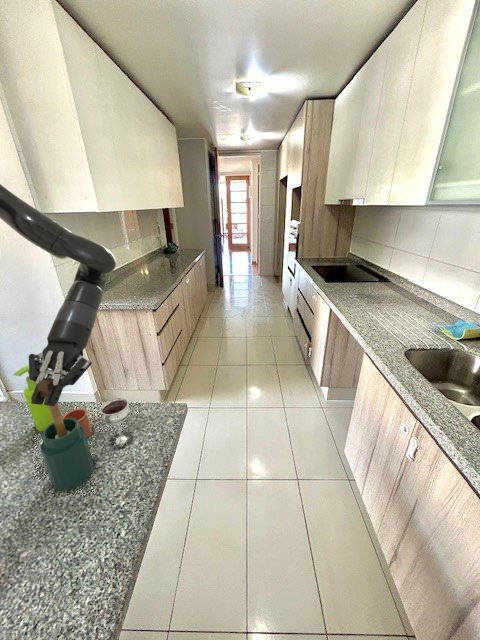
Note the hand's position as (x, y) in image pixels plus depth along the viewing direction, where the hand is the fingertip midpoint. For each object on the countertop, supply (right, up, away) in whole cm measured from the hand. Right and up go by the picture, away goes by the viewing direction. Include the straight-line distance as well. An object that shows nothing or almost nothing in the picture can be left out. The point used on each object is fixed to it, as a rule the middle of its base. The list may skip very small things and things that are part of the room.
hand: (43, 404), depth 52 cm
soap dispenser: (-17, -14, +24) cm, 33 cm away
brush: (0, -14, +8) cm, 16 cm away
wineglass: (+7, -17, +19) cm, 26 cm away
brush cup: (-6, -16, +21) cm, 27 cm away
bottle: (0, -20, +10) cm, 22 cm away
